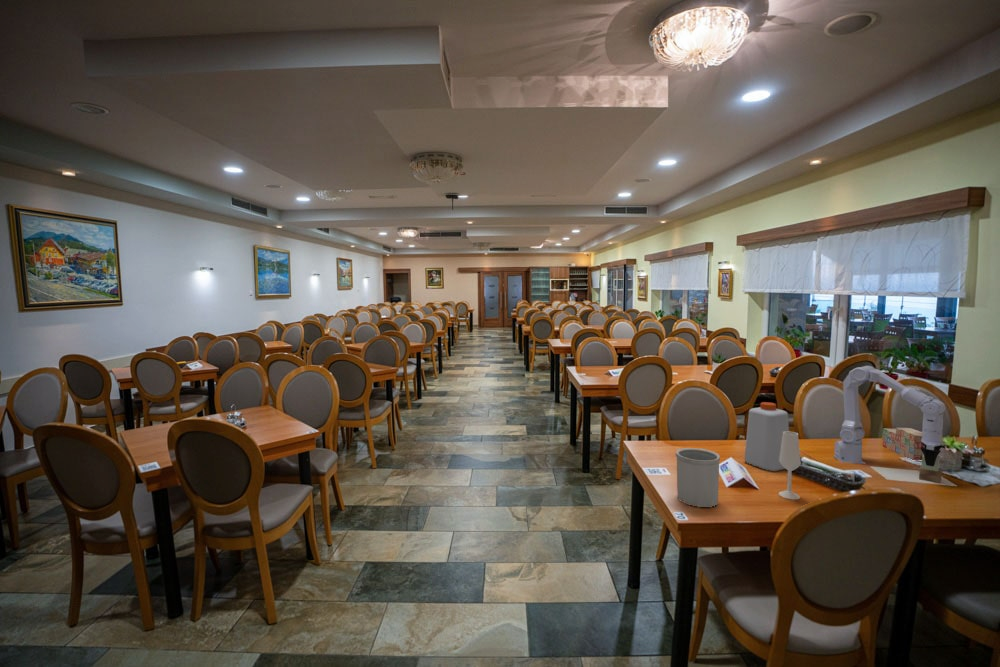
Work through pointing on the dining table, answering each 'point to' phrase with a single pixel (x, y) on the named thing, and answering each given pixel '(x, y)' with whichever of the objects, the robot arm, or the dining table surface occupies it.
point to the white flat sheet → (906, 475)
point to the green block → (934, 468)
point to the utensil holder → (698, 476)
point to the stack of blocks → (904, 442)
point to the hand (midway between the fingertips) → (930, 463)
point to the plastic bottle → (765, 436)
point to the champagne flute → (789, 459)
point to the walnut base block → (930, 475)
